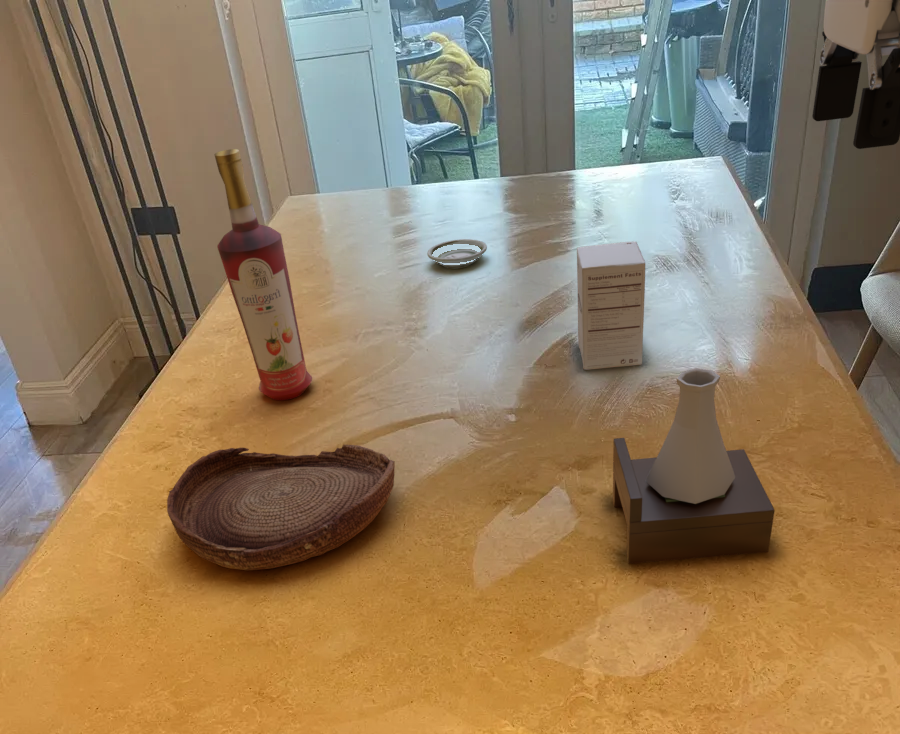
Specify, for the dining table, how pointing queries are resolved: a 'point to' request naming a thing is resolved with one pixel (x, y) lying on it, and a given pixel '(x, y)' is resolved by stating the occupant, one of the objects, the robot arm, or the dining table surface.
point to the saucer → (458, 253)
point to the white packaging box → (610, 304)
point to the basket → (277, 504)
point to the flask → (693, 445)
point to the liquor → (261, 288)
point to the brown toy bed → (690, 514)
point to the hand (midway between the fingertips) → (852, 131)
